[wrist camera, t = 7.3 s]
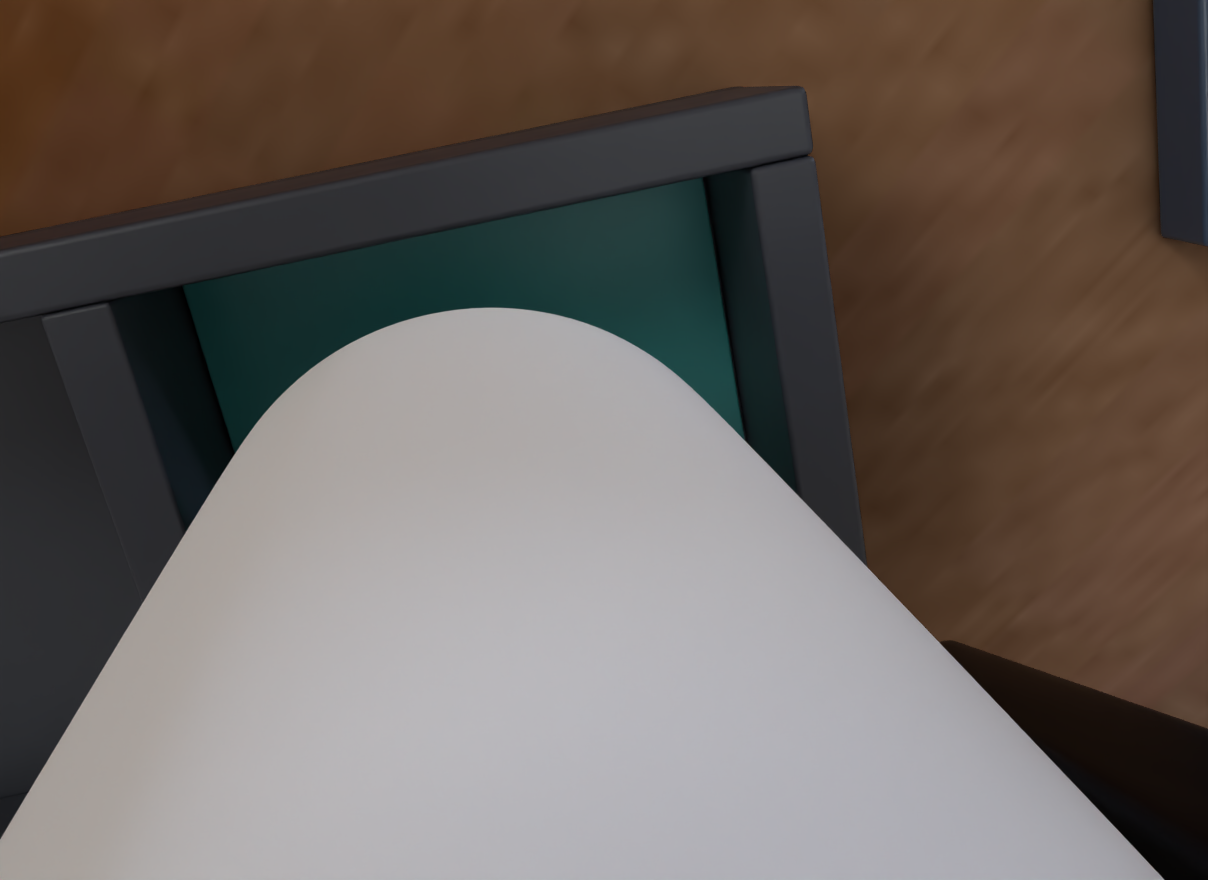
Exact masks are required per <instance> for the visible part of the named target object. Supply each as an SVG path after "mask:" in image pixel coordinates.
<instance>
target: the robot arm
mask: <svg viewBox="0 0 1208 880" xmlns="http://www.w3.org/2000/svg"><path fill="white" fill-rule="evenodd" d="M939 643H940V644H941V645H942V646H943V647H944V648H945V649H946V650H947V651H948V652H949V653H950V654H951V655H952V656H953V657H954V658H955V660H956V661H957V662H958V663H959V664H960V665H961V666H962V667H963V668H964V669H965V670H966V671H967V672H968V673H969V674H970V675H971V676H972V677H973V678H974V679H975V681H976V682H977V683H978V684H979V685H980V686H981V687H982V688H983V689H984V690H985V691H986V692H987V693H988V694H989V695H990V696H991V697H992V698H993V699H994V700H995V702H996V703H997V704H998V705H999V706H1000V707H1001V708H1002V709H1003V710H1004V711H1005V712H1006V713H1007V714H1008V715H1009V716H1010V717H1011V718H1012V719H1013V720H1014V722H1015V723H1016V724H1017V725H1018V726H1019V727H1020V728H1021V729H1022V730H1023V731H1024V732H1025V733H1026V734H1027V735H1028V736H1029V737H1030V738H1031V739H1032V740H1033V741H1034V743H1035V744H1036V745H1037V746H1038V747H1039V748H1040V749H1041V750H1042V751H1043V752H1044V753H1045V754H1046V755H1047V756H1048V757H1049V758H1050V759H1051V760H1052V761H1053V762H1054V764H1055V765H1056V766H1057V767H1058V768H1059V769H1060V770H1061V771H1062V772H1063V773H1064V774H1065V775H1066V776H1067V777H1068V778H1069V779H1070V780H1071V781H1072V782H1073V784H1074V785H1075V786H1076V787H1077V788H1078V789H1079V790H1080V791H1081V792H1082V793H1083V794H1084V795H1085V796H1086V797H1087V798H1088V799H1089V800H1090V801H1091V802H1092V803H1093V805H1094V806H1095V807H1096V808H1097V809H1098V810H1099V811H1100V812H1101V813H1102V814H1103V815H1104V816H1105V817H1106V818H1107V819H1108V820H1109V821H1110V822H1111V823H1112V825H1113V826H1114V827H1115V828H1116V829H1117V830H1118V831H1119V832H1120V833H1121V834H1122V835H1123V836H1124V837H1125V838H1126V839H1127V840H1128V841H1129V843H1130V844H1131V845H1132V846H1133V847H1134V848H1135V849H1136V850H1137V851H1138V852H1139V853H1140V854H1141V855H1142V856H1143V857H1144V859H1145V860H1146V861H1147V862H1148V863H1149V864H1150V865H1151V866H1152V867H1153V868H1154V869H1155V870H1156V871H1157V872H1158V873H1159V875H1160V876H1161V877H1162V878H1163V879H1164V880H1208V729H1207V728H1204V727H1201V726H1199V725H1196V724H1193V723H1190V722H1187V721H1184V720H1181V719H1178V718H1175V717H1173V716H1170V715H1167V714H1164V713H1161V712H1158V711H1155V710H1152V709H1149V708H1147V707H1144V706H1141V705H1138V704H1135V703H1132V702H1129V701H1126V700H1123V699H1121V698H1118V697H1115V696H1112V695H1109V694H1106V693H1103V692H1100V691H1098V690H1095V689H1092V688H1089V687H1086V686H1083V685H1080V684H1077V683H1074V682H1072V681H1069V680H1066V679H1063V678H1060V677H1057V676H1054V675H1051V674H1048V673H1046V672H1043V671H1040V670H1037V669H1034V668H1031V667H1028V666H1025V665H1022V664H1020V663H1017V662H1014V661H1011V660H1008V659H1005V658H1002V657H999V656H996V655H994V654H991V653H988V652H985V651H982V650H979V649H976V648H973V647H971V646H968V645H965V644H962V643H959V642H956V641H952V640H947V641H941V642H939Z"/></svg>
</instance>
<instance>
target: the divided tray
mask: <svg viewBox="0 0 1208 880" xmlns="http://www.w3.org/2000/svg"><path fill="white" fill-rule="evenodd" d="M812 148H813V142H812V134H811V127H810V119H809V111H808V103H807V95H806V92H805V90H804V88H803V87H800V86H768V87H731V88H726V89H721V90H716V91H711V92H706V93H701V94H696V95H691V96H687V97H682V98H677V99H672V100H667V101H662V102H657V103H652V104H647V105H642V106H638V107H633V108H628V109H623V110H618V111H613V112H608V113H603V114H598V115H594V116H589V117H584V118H579V119H574V120H569V121H564V122H559V123H554V124H550V125H545V126H540V127H535V128H530V129H525V130H520V131H515V132H510V133H506V134H501V135H496V136H491V137H486V138H481V139H476V140H471V141H466V142H461V143H457V144H452V145H447V146H442V147H437V148H432V149H427V150H422V151H417V152H413V153H408V154H403V155H398V156H393V157H388V158H383V159H378V160H373V161H369V162H364V163H359V164H354V165H349V166H344V167H339V168H334V169H329V170H325V171H320V172H315V173H310V174H305V175H300V176H295V177H290V178H285V179H280V180H276V181H271V182H266V183H261V184H256V185H251V186H246V187H241V188H236V189H232V190H227V191H222V192H217V193H212V194H207V195H202V196H197V197H192V198H188V199H183V200H178V201H173V202H168V203H163V204H158V205H153V206H148V207H143V208H139V209H134V210H129V211H124V212H119V213H114V214H109V215H104V216H99V217H95V218H90V219H85V220H80V221H75V222H70V223H65V224H60V225H55V226H51V227H46V228H41V229H36V230H31V231H26V232H21V233H16V234H11V235H7V236H2V237H0V839H1V837H2V836H3V834H4V832H5V831H6V829H7V827H8V826H9V824H10V822H11V821H12V819H13V817H14V816H15V814H16V812H17V811H18V809H19V807H20V806H21V804H22V802H23V801H24V799H25V797H26V796H27V794H28V792H29V791H30V789H31V787H32V786H33V784H34V782H35V781H36V779H37V777H38V776H39V774H40V772H41V771H42V769H43V767H44V766H45V764H46V762H47V761H48V759H49V757H50V756H51V754H52V752H53V751H54V749H55V747H56V746H57V744H58V742H59V741H60V739H61V737H62V736H63V734H64V733H65V731H66V729H67V728H68V726H69V724H70V723H71V721H72V719H73V718H74V716H75V714H76V713H77V711H78V709H79V708H80V706H81V704H82V703H83V701H84V699H85V698H86V696H87V694H88V693H89V691H90V689H91V688H92V686H93V684H94V683H95V681H96V679H97V678H98V676H99V674H100V673H101V671H102V670H103V668H104V666H105V665H106V663H107V661H108V660H109V658H110V656H111V655H112V653H113V651H114V650H115V648H116V646H117V645H118V643H119V641H120V640H121V638H122V636H123V635H124V633H125V631H126V630H127V628H128V627H129V625H130V623H131V622H132V620H133V618H134V617H135V615H136V613H137V612H138V610H139V608H140V607H141V605H142V604H143V602H144V600H145V599H146V597H147V595H148V594H149V592H150V590H151V589H152V587H153V585H154V584H155V582H156V581H157V579H158V577H159V576H160V574H161V572H162V571H163V569H164V567H165V566H166V564H167V562H168V561H169V559H170V558H171V556H172V554H173V553H174V551H175V549H176V548H177V546H178V544H179V543H180V541H181V539H182V538H183V536H184V535H185V533H186V531H187V530H188V528H189V526H190V525H191V523H192V522H193V520H194V518H195V517H196V515H197V514H198V512H199V510H200V509H201V507H202V505H203V504H204V502H205V501H206V499H207V497H208V496H209V494H210V492H211V491H212V489H213V488H214V486H215V484H216V483H217V481H218V480H219V478H220V477H221V475H222V473H223V472H224V470H225V469H226V467H227V466H228V464H229V462H230V461H231V459H232V458H233V456H234V455H235V453H236V452H237V450H238V449H239V447H240V446H241V444H242V443H243V441H244V440H245V438H246V437H247V436H248V434H249V433H250V431H251V430H252V429H253V427H254V426H255V425H256V423H257V422H258V421H259V419H260V418H261V417H262V416H263V415H264V413H265V412H266V411H267V410H268V409H269V408H270V406H271V405H272V404H273V403H274V402H275V401H276V400H277V399H278V398H279V397H280V396H281V395H282V394H283V393H284V392H285V391H286V390H287V389H288V388H289V387H290V386H291V385H292V384H294V383H295V382H296V381H297V380H298V379H299V378H300V377H302V376H303V375H304V374H305V373H306V372H308V371H309V370H310V369H311V368H313V367H314V366H316V365H317V364H318V363H320V362H321V361H322V360H324V359H325V358H327V357H328V356H330V355H331V354H333V353H335V352H336V351H338V350H340V349H341V348H343V347H345V346H346V345H348V344H350V343H352V342H354V341H356V340H358V339H360V338H362V337H364V336H366V335H368V334H370V333H373V332H375V331H377V330H380V329H382V328H385V327H387V326H390V325H393V324H396V323H399V322H402V321H405V320H409V319H412V318H416V317H420V316H424V315H428V314H433V313H439V312H444V311H451V310H459V309H470V308H513V309H524V310H532V311H539V312H545V313H550V314H555V315H559V316H563V317H567V318H571V319H574V320H577V321H581V322H584V323H587V324H589V325H592V326H595V327H598V328H600V329H602V330H605V331H607V332H609V333H612V334H614V335H616V336H618V337H620V338H622V339H624V340H626V341H627V342H629V343H631V344H633V345H635V346H636V347H638V348H640V349H641V350H643V351H645V352H646V353H648V354H650V355H651V356H652V357H654V358H655V359H657V360H658V361H660V362H661V363H663V364H664V365H665V366H666V367H668V368H669V369H670V370H672V371H673V372H674V373H675V374H676V375H678V376H679V377H680V378H681V379H682V380H683V381H684V382H686V383H687V384H688V385H689V386H690V387H691V388H692V389H693V390H694V391H695V392H696V393H697V394H699V395H700V396H701V397H702V398H703V399H704V400H705V401H706V402H707V403H708V404H709V405H710V406H711V407H712V408H713V409H714V410H715V411H716V412H717V413H718V414H719V415H720V416H721V417H722V418H723V419H724V420H725V421H726V422H727V423H728V424H729V425H730V426H731V427H732V428H733V429H734V430H735V431H736V432H737V433H738V434H739V435H740V436H741V437H742V438H743V439H744V440H745V441H746V443H747V444H748V445H749V446H750V447H751V448H752V449H753V450H754V451H755V452H756V453H757V454H758V455H759V456H760V457H761V458H762V459H763V460H764V461H765V462H766V463H767V464H768V465H769V466H770V467H771V468H772V469H773V470H774V471H775V472H776V473H777V474H778V475H779V476H780V477H781V478H782V480H783V481H784V482H785V483H786V484H787V485H788V486H789V487H790V488H791V489H792V490H793V491H794V492H795V493H796V494H797V495H798V496H799V497H800V498H801V499H802V500H803V501H804V502H805V503H806V504H807V505H808V506H809V507H810V508H811V510H812V511H813V512H814V513H815V514H816V515H817V516H818V517H819V518H820V519H821V520H822V521H823V522H824V523H825V524H826V525H827V526H828V527H829V528H830V529H831V530H832V531H833V532H834V533H835V534H836V535H837V536H838V537H839V539H840V540H841V541H842V542H843V543H844V544H845V545H846V546H847V547H848V548H849V549H850V550H851V551H852V552H853V553H854V554H855V555H856V556H857V557H858V558H859V559H860V560H861V561H862V562H863V564H864V565H865V566H866V567H867V560H866V552H865V544H864V537H863V529H862V521H861V513H860V505H859V498H858V490H857V482H856V474H855V467H854V459H853V451H852V443H851V435H850V428H849V420H848V412H847V404H846V397H845V389H844V381H843V373H842V366H841V358H840V350H839V342H838V334H837V327H836V319H835V311H834V303H833V296H832V288H831V280H830V272H829V265H828V257H827V249H826V241H825V233H824V226H823V218H822V210H821V202H820V195H819V187H818V179H817V171H816V164H815V160H814V159H813V157H811V156H807V155H808V154H810V153H811V152H812Z"/></svg>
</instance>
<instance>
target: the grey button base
mask: <svg viewBox="0 0 1208 880" xmlns="http://www.w3.org/2000/svg"><path fill="white" fill-rule="evenodd" d="M1153 16H1154V45H1155V74H1156V103H1157V133H1158V162H1159V191H1160V220H1161V234H1162V236H1163V237H1165V238H1170V239H1174V240H1179V241H1184V242H1189V243H1194V244H1198V245H1203V246H1208V0H1153Z"/></svg>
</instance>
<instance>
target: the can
mask: <svg viewBox="0 0 1208 880" xmlns="http://www.w3.org/2000/svg"><path fill="white" fill-rule="evenodd" d="M0 880H1164V879H1163V878H1162V877H1161V876H1160V875H1159V873H1158V872H1157V871H1156V870H1155V869H1154V868H1153V867H1152V866H1151V865H1150V864H1149V863H1148V862H1147V861H1146V860H1145V859H1144V857H1143V856H1142V855H1141V854H1140V853H1139V852H1138V851H1137V850H1136V849H1135V848H1134V847H1133V846H1132V845H1131V844H1130V843H1129V841H1128V840H1127V839H1126V838H1125V837H1124V836H1123V835H1122V834H1121V833H1120V832H1119V831H1118V830H1117V829H1116V828H1115V827H1114V826H1113V825H1112V823H1111V822H1110V821H1109V820H1108V819H1107V818H1106V817H1105V816H1104V815H1103V814H1102V813H1101V812H1100V811H1099V810H1098V809H1097V808H1096V807H1095V806H1094V805H1093V803H1092V802H1091V801H1090V800H1089V799H1088V798H1087V797H1086V796H1085V795H1084V794H1083V793H1082V792H1081V791H1080V790H1079V789H1078V788H1077V787H1076V786H1075V785H1074V784H1073V782H1072V781H1071V780H1070V779H1069V778H1068V777H1067V776H1066V775H1065V774H1064V773H1063V772H1062V771H1061V770H1060V769H1059V768H1058V767H1057V766H1056V765H1055V764H1054V762H1053V761H1052V760H1051V759H1050V758H1049V757H1048V756H1047V755H1046V754H1045V753H1044V752H1043V751H1042V750H1041V749H1040V748H1039V747H1038V746H1037V745H1036V744H1035V743H1034V741H1033V740H1032V739H1031V738H1030V737H1029V736H1028V735H1027V734H1026V733H1025V732H1024V731H1023V730H1022V729H1021V728H1020V727H1019V726H1018V725H1017V724H1016V723H1015V722H1014V720H1013V719H1012V718H1011V717H1010V716H1009V715H1008V714H1007V713H1006V712H1005V711H1004V710H1003V709H1002V708H1001V707H1000V706H999V705H998V704H997V703H996V702H995V700H994V699H993V698H992V697H991V696H990V695H989V694H988V693H987V692H986V691H985V690H984V689H983V688H982V687H981V686H980V685H979V684H978V683H977V682H976V681H975V679H974V678H973V677H972V676H971V675H970V674H969V673H968V672H967V671H966V670H965V669H964V668H963V667H962V666H961V665H960V664H959V663H958V662H957V661H956V660H955V658H954V657H953V656H952V655H951V654H950V653H949V652H948V651H947V650H946V649H945V648H944V647H943V646H942V645H941V644H940V643H939V642H938V641H937V640H936V639H935V638H934V637H933V635H932V634H931V633H930V632H929V631H928V630H927V629H926V628H925V627H924V626H923V625H922V624H921V623H920V622H919V621H918V620H917V619H916V618H915V617H914V616H913V615H912V614H911V613H910V611H909V610H908V609H907V608H906V607H905V606H904V605H903V604H902V603H901V602H900V601H899V600H898V599H897V598H896V597H895V596H894V595H893V594H892V593H891V592H890V591H889V590H888V589H887V588H886V586H885V585H884V584H883V583H882V582H881V581H880V580H879V579H878V578H877V577H876V576H875V575H874V574H873V573H872V572H871V571H870V570H869V569H868V568H867V567H866V566H865V565H864V564H863V562H862V561H861V560H860V559H859V558H858V557H857V556H856V555H855V554H854V553H853V552H852V551H851V550H850V549H849V548H848V547H847V546H846V545H845V544H844V543H843V542H842V541H841V540H840V539H839V537H838V536H837V535H836V534H835V533H834V532H833V531H832V530H831V529H830V528H829V527H828V526H827V525H826V524H825V523H824V522H823V521H822V520H821V519H820V518H819V517H818V516H817V515H816V514H815V513H814V512H813V511H812V510H811V508H810V507H809V506H808V505H807V504H806V503H805V502H804V501H803V500H802V499H801V498H800V497H799V496H798V495H797V494H796V493H795V492H794V491H793V490H792V489H791V488H790V487H789V486H788V485H787V484H786V483H785V482H784V481H783V480H782V478H781V477H780V476H779V475H778V474H777V473H776V472H775V471H774V470H773V469H772V468H771V467H770V466H769V465H768V464H767V463H766V462H765V461H764V460H763V459H762V458H761V457H760V456H759V455H758V454H757V453H756V452H755V451H754V450H753V449H752V448H751V447H750V446H749V445H748V444H747V443H746V441H745V440H744V439H743V438H742V437H741V436H740V435H739V434H738V433H737V432H736V431H735V430H734V429H733V428H732V427H731V426H730V425H729V424H728V423H727V422H726V421H725V420H724V419H723V418H722V417H721V416H720V415H719V414H718V413H717V412H716V411H715V410H714V409H713V408H712V407H711V406H710V405H709V404H708V403H707V402H706V401H705V400H704V399H703V398H702V397H701V396H700V395H699V394H697V393H696V392H695V391H694V390H693V389H692V388H691V387H690V386H689V385H688V384H687V383H686V382H684V381H683V380H682V379H681V378H680V377H679V376H678V375H676V374H675V373H674V372H673V371H672V370H670V369H669V368H668V367H666V366H665V365H664V364H663V363H661V362H660V361H658V360H657V359H655V358H654V357H652V356H651V355H650V354H648V353H646V352H645V351H643V350H641V349H640V348H638V347H636V346H635V345H633V344H631V343H629V342H627V341H626V340H624V339H622V338H620V337H618V336H616V335H614V334H612V333H609V332H607V331H605V330H602V329H600V328H598V327H595V326H592V325H589V324H587V323H584V322H581V321H577V320H574V319H571V318H567V317H563V316H559V315H555V314H550V313H545V312H539V311H532V310H524V309H513V308H470V309H459V310H451V311H444V312H439V313H433V314H428V315H424V316H420V317H416V318H412V319H409V320H405V321H402V322H399V323H396V324H393V325H390V326H387V327H385V328H382V329H380V330H377V331H375V332H373V333H370V334H368V335H366V336H364V337H362V338H360V339H358V340H356V341H354V342H352V343H350V344H348V345H346V346H345V347H343V348H341V349H340V350H338V351H336V352H335V353H333V354H331V355H330V356H328V357H327V358H325V359H324V360H322V361H321V362H320V363H318V364H317V365H316V366H314V367H313V368H311V369H310V370H309V371H308V372H306V373H305V374H304V375H303V376H302V377H300V378H299V379H298V380H297V381H296V382H295V383H294V384H292V385H291V386H290V387H289V388H288V389H287V390H286V391H285V392H284V393H283V394H282V395H281V396H280V397H279V398H278V399H277V400H276V401H275V402H274V403H273V404H272V405H271V406H270V408H269V409H268V410H267V411H266V412H265V413H264V415H263V416H262V417H261V418H260V419H259V421H258V422H257V423H256V425H255V426H254V427H253V429H252V430H251V431H250V433H249V434H248V436H247V437H246V438H245V440H244V441H243V443H242V444H241V446H240V447H239V449H238V450H237V452H236V453H235V455H234V456H233V458H232V459H231V461H230V462H229V464H228V466H227V467H226V469H225V470H224V472H223V473H222V475H221V477H220V478H219V480H218V481H217V483H216V484H215V486H214V488H213V489H212V491H211V492H210V494H209V496H208V497H207V499H206V501H205V502H204V504H203V505H202V507H201V509H200V510H199V512H198V514H197V515H196V517H195V518H194V520H193V522H192V523H191V525H190V526H189V528H188V530H187V531H186V533H185V535H184V536H183V538H182V539H181V541H180V543H179V544H178V546H177V548H176V549H175V551H174V553H173V554H172V556H171V558H170V559H169V561H168V562H167V564H166V566H165V567H164V569H163V571H162V572H161V574H160V576H159V577H158V579H157V581H156V582H155V584H154V585H153V587H152V589H151V590H150V592H149V594H148V595H147V597H146V599H145V600H144V602H143V604H142V605H141V607H140V608H139V610H138V612H137V613H136V615H135V617H134V618H133V620H132V622H131V623H130V625H129V627H128V628H127V630H126V631H125V633H124V635H123V636H122V638H121V640H120V641H119V643H118V645H117V646H116V648H115V650H114V651H113V653H112V655H111V656H110V658H109V660H108V661H107V663H106V665H105V666H104V668H103V670H102V671H101V673H100V674H99V676H98V678H97V679H96V681H95V683H94V684H93V686H92V688H91V689H90V691H89V693H88V694H87V696H86V698H85V699H84V701H83V703H82V704H81V706H80V708H79V709H78V711H77V713H76V714H75V716H74V718H73V719H72V721H71V723H70V724H69V726H68V728H67V729H66V731H65V733H64V734H63V736H62V737H61V739H60V741H59V742H58V744H57V746H56V747H55V749H54V751H53V752H52V754H51V756H50V757H49V759H48V761H47V762H46V764H45V766H44V767H43V769H42V771H41V772H40V774H39V776H38V777H37V779H36V781H35V782H34V784H33V786H32V787H31V789H30V791H29V792H28V794H27V796H26V797H25V799H24V801H23V802H22V804H21V806H20V807H19V809H18V811H17V812H16V814H15V816H14V817H13V819H12V821H11V822H10V824H9V826H8V827H7V829H6V831H5V832H4V834H3V836H2V837H1V839H0Z"/></svg>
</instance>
